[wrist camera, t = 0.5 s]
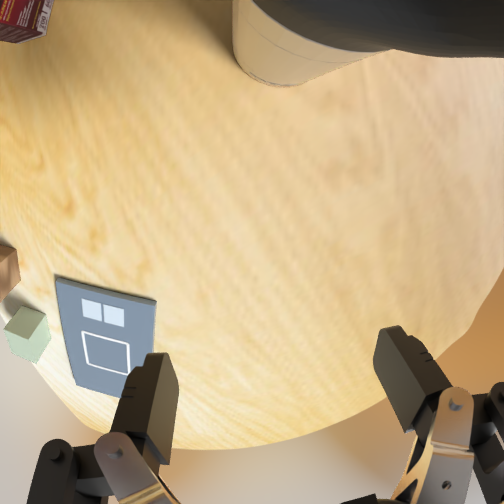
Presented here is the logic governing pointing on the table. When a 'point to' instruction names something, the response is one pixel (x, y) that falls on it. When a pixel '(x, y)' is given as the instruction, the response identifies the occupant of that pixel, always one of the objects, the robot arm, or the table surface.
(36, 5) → the supplement box
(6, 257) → the walnut block
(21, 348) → the sage block
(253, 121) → the table surface
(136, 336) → the board
